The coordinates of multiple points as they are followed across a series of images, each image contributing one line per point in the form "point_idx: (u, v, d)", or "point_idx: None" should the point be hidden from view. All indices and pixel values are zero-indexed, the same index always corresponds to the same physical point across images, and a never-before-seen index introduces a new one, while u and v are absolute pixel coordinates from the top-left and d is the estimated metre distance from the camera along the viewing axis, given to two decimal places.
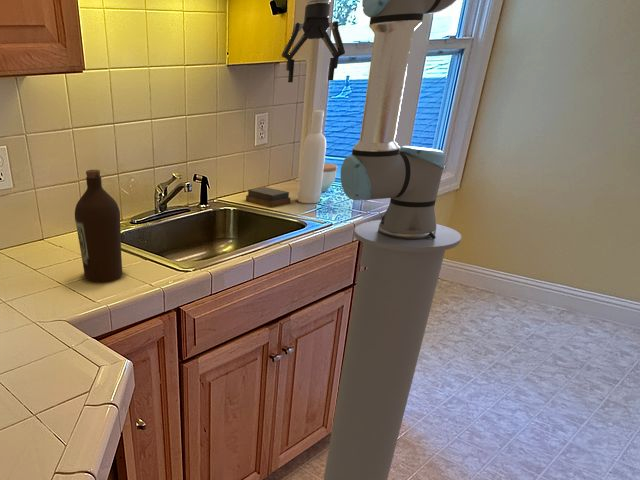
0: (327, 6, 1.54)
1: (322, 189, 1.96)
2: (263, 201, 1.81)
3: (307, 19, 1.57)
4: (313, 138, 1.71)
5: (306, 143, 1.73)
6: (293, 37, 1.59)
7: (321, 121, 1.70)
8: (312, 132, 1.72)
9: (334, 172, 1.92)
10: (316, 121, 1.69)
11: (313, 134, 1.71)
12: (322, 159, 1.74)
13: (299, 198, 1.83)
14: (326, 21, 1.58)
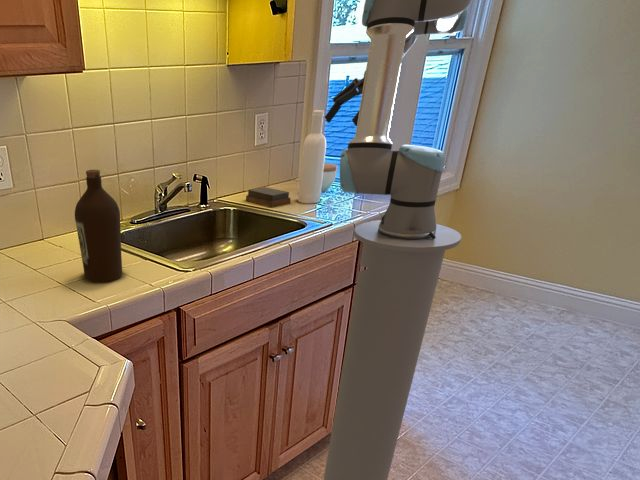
0: None
1: (322, 189, 1.96)
2: (263, 201, 1.81)
3: (364, 76, 1.74)
4: (313, 138, 1.71)
5: (306, 143, 1.73)
6: (347, 87, 1.78)
7: (321, 121, 1.70)
8: (312, 132, 1.72)
9: (334, 172, 1.92)
10: (316, 121, 1.69)
11: (313, 134, 1.71)
12: (322, 159, 1.74)
13: (299, 198, 1.83)
14: None
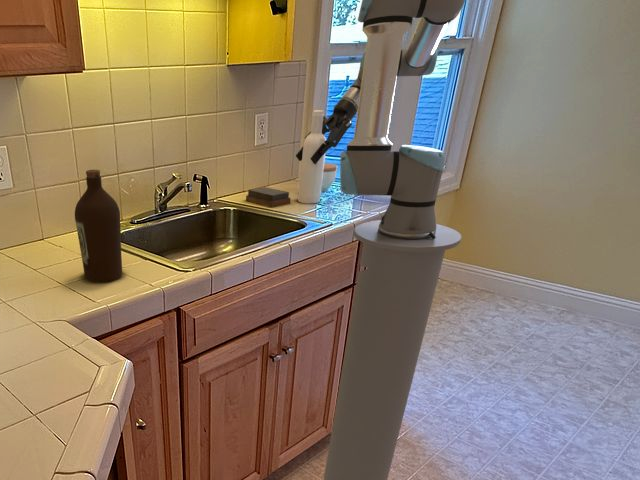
0: (346, 101, 1.69)
1: (322, 189, 1.96)
2: (263, 201, 1.81)
3: (333, 113, 1.75)
4: (313, 138, 1.71)
5: (306, 143, 1.73)
6: None
7: (321, 121, 1.70)
8: (312, 132, 1.72)
9: (334, 172, 1.92)
10: (316, 121, 1.69)
11: (313, 134, 1.71)
12: (322, 159, 1.74)
13: (299, 198, 1.83)
14: (343, 115, 1.70)
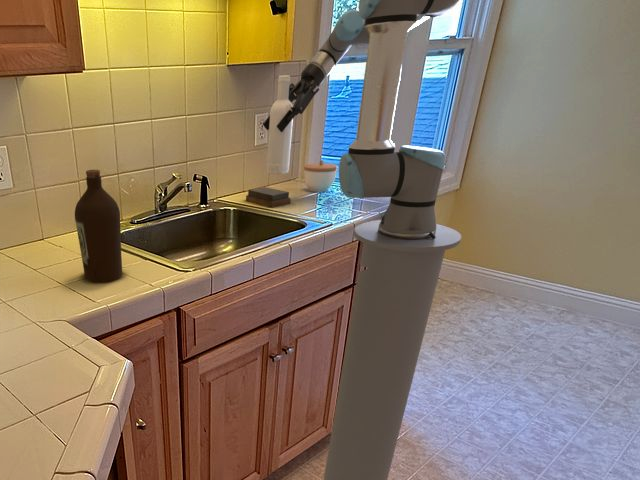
0: (313, 66, 1.63)
1: (322, 189, 1.96)
2: (263, 201, 1.81)
3: (301, 79, 1.69)
4: (279, 104, 1.65)
5: (272, 110, 1.67)
6: None
7: (287, 87, 1.63)
8: (278, 99, 1.65)
9: (334, 172, 1.92)
10: (282, 86, 1.63)
11: (279, 100, 1.65)
12: (289, 127, 1.68)
13: (267, 169, 1.77)
14: (311, 81, 1.64)
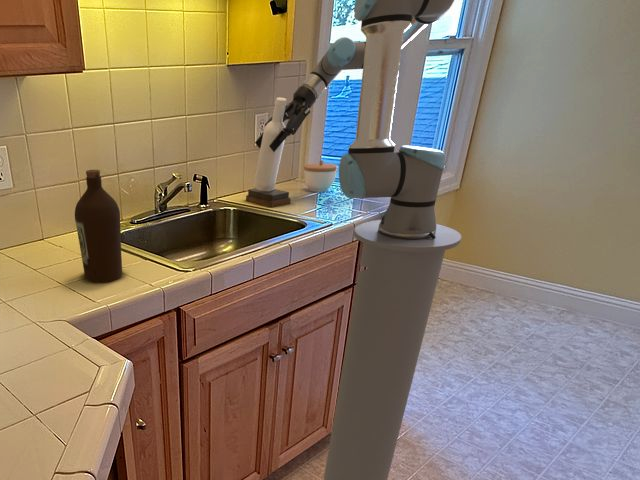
0: (305, 88, 1.68)
1: (322, 189, 1.96)
2: (263, 201, 1.81)
3: (293, 100, 1.73)
4: (273, 127, 1.69)
5: (266, 131, 1.71)
6: None
7: (283, 110, 1.67)
8: (273, 120, 1.69)
9: (334, 172, 1.92)
10: (278, 110, 1.67)
11: (274, 122, 1.69)
12: (280, 149, 1.73)
13: (254, 184, 1.83)
14: (302, 103, 1.69)
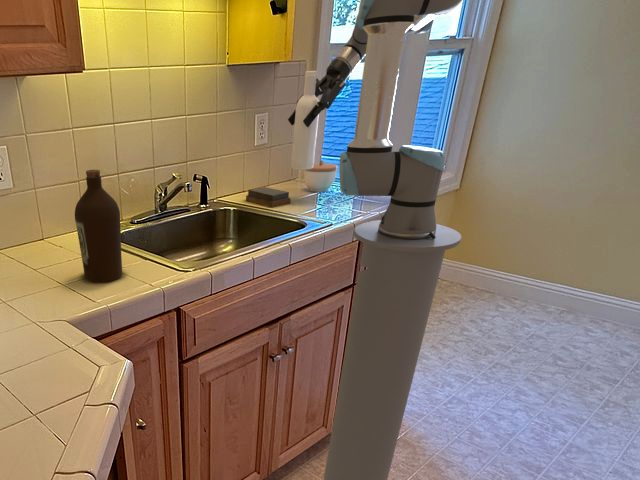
0: (340, 61, 1.64)
1: (322, 189, 1.96)
2: (263, 201, 1.81)
3: (326, 74, 1.70)
4: (306, 100, 1.65)
5: (299, 105, 1.67)
6: None
7: (314, 82, 1.64)
8: (305, 94, 1.66)
9: (334, 172, 1.92)
10: (309, 82, 1.64)
11: (306, 95, 1.66)
12: (315, 122, 1.68)
13: (292, 164, 1.77)
14: (337, 76, 1.65)
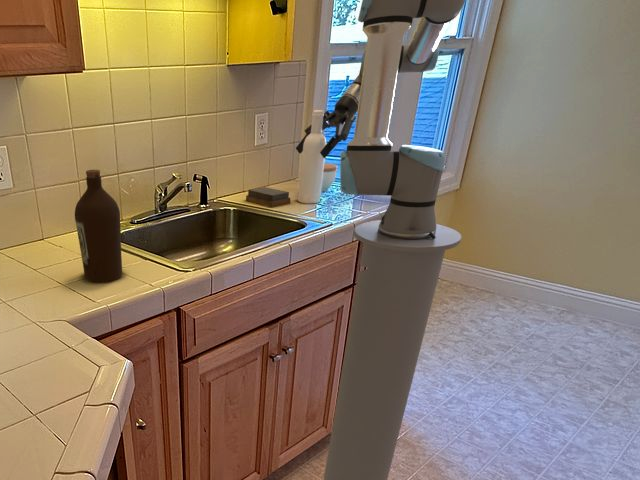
0: (348, 98, 1.69)
1: (322, 189, 1.96)
2: (263, 201, 1.81)
3: (335, 109, 1.75)
4: (313, 138, 1.71)
5: (306, 143, 1.73)
6: None
7: (321, 121, 1.70)
8: (312, 132, 1.72)
9: (334, 172, 1.92)
10: (316, 121, 1.69)
11: (313, 134, 1.71)
12: (322, 159, 1.74)
13: (299, 198, 1.83)
14: (345, 112, 1.70)
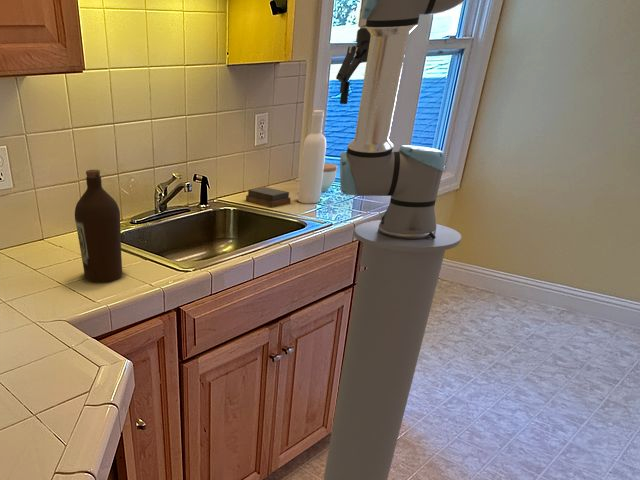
0: None
1: (322, 189, 1.96)
2: (263, 201, 1.81)
3: (362, 42, 1.59)
4: (313, 138, 1.71)
5: (306, 143, 1.73)
6: (350, 60, 1.60)
7: (321, 121, 1.70)
8: (312, 132, 1.72)
9: (334, 172, 1.92)
10: (316, 121, 1.69)
11: (313, 133, 1.71)
12: (322, 159, 1.74)
13: (299, 198, 1.83)
14: None
